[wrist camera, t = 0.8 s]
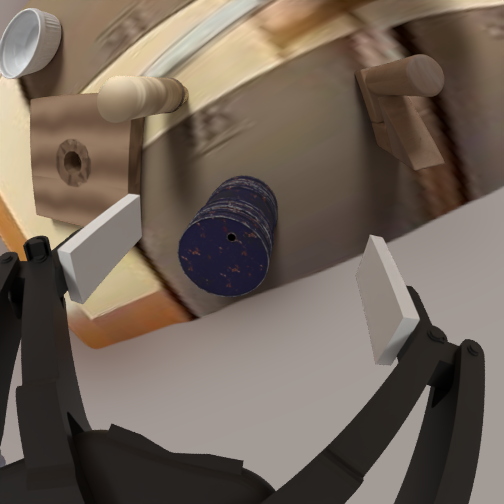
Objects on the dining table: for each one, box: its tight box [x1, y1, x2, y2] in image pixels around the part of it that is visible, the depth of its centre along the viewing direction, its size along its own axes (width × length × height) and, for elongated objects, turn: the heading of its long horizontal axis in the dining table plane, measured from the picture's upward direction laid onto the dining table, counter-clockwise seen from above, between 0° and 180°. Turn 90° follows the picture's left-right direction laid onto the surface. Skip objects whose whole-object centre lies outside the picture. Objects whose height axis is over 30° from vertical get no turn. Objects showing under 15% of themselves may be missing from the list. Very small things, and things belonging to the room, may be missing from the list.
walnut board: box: [30, 93, 144, 227], centre depth 40 cm, size 22×22×4 cm
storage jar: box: [178, 176, 277, 297], centre depth 37 cm, size 10×10×15 cm
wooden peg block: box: [355, 54, 445, 171], centre depth 25 cm, size 4×11×18 cm, turn 21°
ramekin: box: [0, 8, 61, 79], centre depth 28 cm, size 13×13×7 cm
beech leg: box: [97, 76, 188, 123], centre depth 29 cm, size 5×5×16 cm
